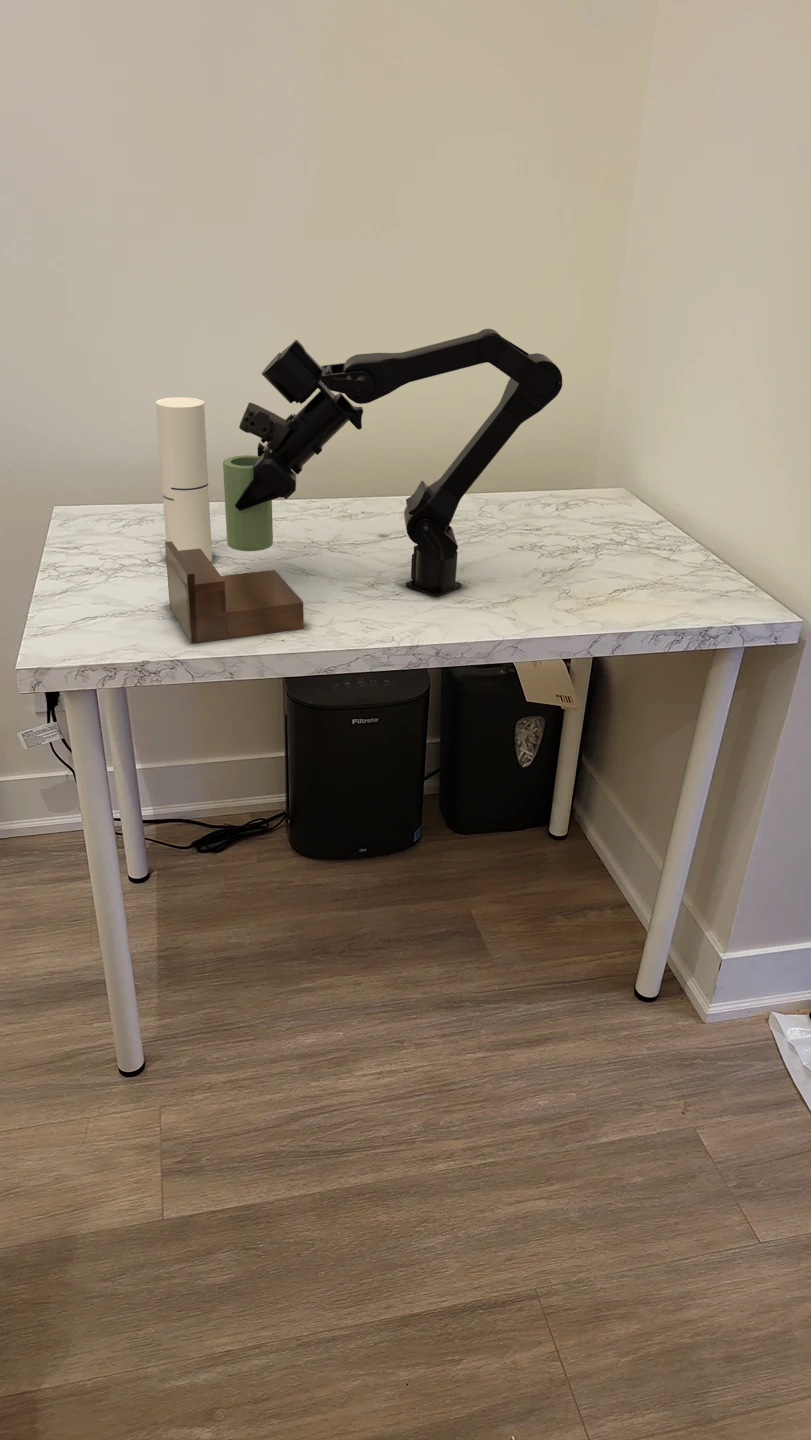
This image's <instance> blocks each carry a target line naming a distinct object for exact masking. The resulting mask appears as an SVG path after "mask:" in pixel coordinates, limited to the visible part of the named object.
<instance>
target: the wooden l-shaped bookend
mask: <svg viewBox="0 0 811 1440" xmlns="http://www.w3.org/2000/svg"><path fill="white" fill-rule="evenodd" d="M164 547H165V548H164V550H165V561H166V573H167V574H166V575H167V589H168V599H169V601H168V602H169V609H170V610H171V612H172V613H173V615H174V617H175V618H176V620H177V621H178V623H179V625H180V627H181V628H182V630H183V632H184V633H185V635H186V637H187V638H188V640H189V642H190V643H191V644H200V643H206V642H214V641H221V640H227V639H237V638H243V637H250V636H256V635H264V634H272V633H279V632H285V631H286V632H287V631H293V630H301V629H302V630H303V629H304V625H305V624H304V623H305V622H304V621H305V620H304V616H305V615H304V614H305V613H304V601H303V599H301V597H300V596H299V595H298V594H297V593H296V592H295V591H294V589H292V587H291V586H290V585H289V584H288V583H287V582H286V581H285V580H284V578H283V577H282V576H281V575H280V574H279V573H278V572H277V571H276V569H269V570H268V569H267V570H260V571H259V570H258V571H250V572H242V573H241V572H240V573H234V574H225V575H224V574H223V575H221V573H219V571H218V570H217V568H216V567H215V566H214V565H213V563H212V561H211V562H210V561H209V559H208V558H207V557H206V555H205V554H204V553H203V551H202V550H201V549H190V550H180V551H178V550H177V548H176V547H175V545H174V544H173V542H172V541H169V542H166V541H165V542H164Z"/></svg>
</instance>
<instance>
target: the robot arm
mask: <svg viewBox="0 0 811 1440" xmlns="http://www.w3.org/2000/svg"><path fill="white" fill-rule="evenodd" d="M485 363H489V364H490V365H492V366H493V367H495V368H496V369H498V370H499V371H500V372H502V373H503V374H505V375H506V376H507V377H509V379H508V381H507V383H506V386H505V389H504V391H503V393H502V396H501V398H500V401H499V402H498V404H497V406H496V407H495V408H494V409H493V411H492V412H491V413H490V415H489V416H488V417H487V419H486V420H484V422H483V423H482V425H481V426H480V427H479V428H478V429H477V431H476V432H475V434H474V435H473V436H472V437H471V439H470V440H469V441H468V442H467V444H466V445H465V446H464V448H463V449H462V450H461V451H460V453H459V454H458V455H457V456H456V458H455V459H454V460H453V461H452V462H451V464H450V465H449V466H448V468H447V469H446V470H445V472H444V473H443V474H442V475H441V477H440V478H438V480H436V481H434V482H433V483H431V484H429V485H427V483H426V482H425V481H424V480H420V482H419V484H418V486H417V487H416V490H415V491H414V492H413V494H411V496H409V497H408V498H406V499H405V503H406V506H405V508H404V511H403V518H404V524H405V528H406V534H407V536H408V538H409V540H410V541H411V542H412V543H414V544H416V545H413V553H412V554H411V563H410V565H411V567H410V579H411V580H408V581H407V582H405V587H408V588H410V589H412V590H416V591H418V592H421V593H423V594H427V595H429V596H432V597H436V598H437V597H440V596H443V595H445V594H447V593H450V592H452V591H454V590H457V589H460V588H462V585H463V584H462V582H459V581H457V568H458V567H457V566H458V549H459V546H458V542H457V539H456V536H455V532H454V530H453V527H452V526H451V525H450V524H451V522H453V521H452V520H453V518H454V516H455V514H456V511H457V509H458V506H459V503H460V501H461V499H462V498H463V497H464V495H465V494H467V492H468V491H469V489H470V488H471V487H472V486H473V485H474V483H475V482H476V481H477V479H478V478H479V477H480V476H481V475H482V473H483V472H484V470H486V468H487V467H488V466H489V465H490V463H491V462H492V461H493V460H494V458H496V456H497V454H499V452H500V451H501V450H502V448H503V447H504V446H505V444H507V442H508V441H509V440H510V438H511V437H512V436H513V434H514V433H515V432H516V431H517V429H519V427H520V426H521V425H522V424H523V423H524V422H526V421H527V420H529V419H531V418H532V417H534V416H535V415H537V414H538V413H539V412H541V411H542V410H544V408H546V407H547V406H548V405H549V404H550V403H551V402H552V401H553V400H554V399H556V397H558V395H559V394H560V392H561V390H562V388H563V375H562V372H561V369H560V368H559V367H558V366H557V364H556V363H554V362H553V361H552V359H550V358H549V357H548V356H547V355H545V354H542V353H538V352H536V353H529V352H527V351H526V350H524V349H522V348H521V347H519V346H518V345H516V344H514V343H513V342H511V341H509V340H508V339H507V338H505V337H504V336H502V335H501V334H500V333H499V332H498V331H497V330H496V329H493V328H483V329H481V330H480V331H478V332H475V333H471V334H468V335H467V334H466V335H463V336H461V337H456V338H453V339H449V340H445V341H441V342H437V343H434V344H429V345H425V346H422V347H418V348H414V349H411V350H407V351H403V352H369V353H359V354H355V355H352V356H350V357H349V358H348V359H346V361H345V362H342V363H341V362H340V363H333V364H324V365H321V364H319V363H318V362H317V361H316V360H315V359H314V358H313V357H312V356H311V355H310V353H308V352H307V349H305V347H304V346H303V344H302V343H301V342H300V341H299V340H298V339H295V340H294V341H293V342H291V344H290V345H288V346H287V347H286V348H285V349H283V350H282V351H281V352H278V353H277V354H276V355H275V356H274V357H273V358H272V360H271V361H270V362H269V363H268V364H267V365H266V367H265V368H264V369H263V371H262V372H261V376H262V377H263V378H264V379H266V381H268V383H269V384H270V385H271V386H272V387H273V388H274V389H275V390H276V391H277V392H278V393H279V394H280V395H281V396H282V397H283V398H284V399H285V400H286V401H287V402H288V403H289V404H292V403H296V404H300V405H302V404H304V403H305V402H307V400H308V399H309V398H310V397H311V396H313V394H314V393H316V391H317V390H319V391H318V392H317V393H316V394H315V395H314V396H313V397H312V398H311V399H310V400H309V401H308V402H307V403H306V404H305V405H304V406H303V407H302V408H301V409H300V411H298V412H297V413H293V414H292V413H290V414H289V415H288V416H287V417H286V418H283V417H282V416H279V415H278V414H276V413H274V412H273V411H270V410H268V409H267V408H264V407H262V406H260V405H258V404H256V403H253V402H248V404H247V407H246V409H245V410H244V413H243V415H242V418H241V420H240V424H239V426H238V428H239V430H241V431H243V432H244V433H247V434H249V433H250V434H251V435H254V436H256V437H258V438H259V439H260V442H258V444H257V456H260V457H259V459H258V460H257V461H256V462H254V465H253V476H254V478H253V479H252V481H251V482H250V484H249V485H248V486H247V488H246V489H245V491H244V492H243V494H242V495H241V497H240V498H239V499H238V501H237V502H236V504H235V507H236V508H237V509H238V510H239V511H241V510H244V509H247V508H250V507H252V506H255V505H258V504H261V503H264V502H267V501H270V500H272V501H273V500H276V499H282V498H283V499H285V500H288V499H289V498H290V497H291V496H292V495H293V494H294V493H295V492H296V489H297V475H299V474H300V473H302V471H303V466H304V465H306V464H307V462H309V461H310V459H312V458H313V457H314V455H316V456H318V455H319V454H320V453H321V452H322V451H323V447H324V446H325V445H326V444H327V443H328V442H329V441H330V440H331V439H332V438H333V437H334V436H335V435H336V434H337V433H338V432H339V431H340V430H341V429H342V428H343V427H344V426H345V425H346V424H347V423H348V422H350V423H351V424H352V426H354V427H355V428H356V430H361V429H362V428H363V425H362V420H363V419H362V417H363V414H364V407H362V406H355V405H353V404H352V403H351V401H352V402H353V403H355V404H359V405H364V404H369V403H370V404H371V403H372V402H375V401H376V400H379V399H381V398H383V397H385V396H387V395H389V394H391V393H392V392H394V391H396V390H397V389H399V388H401V387H403V386H406V385H407V384H409V383H412V382H416V381H420V380H424V379H427V378H431V377H436V376H439V375H443V374H447V373H450V372H455V371H458V370H462V369H467V368H470V367H474V366H478V365H482V364H485ZM333 392H335V393H337V394H335V393H333ZM344 395H345V396H344ZM348 399H349V400H350V401H349V400H348ZM263 444H264V445H263Z"/></svg>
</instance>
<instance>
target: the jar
mask: <svg viewBox="0 0 811 1440" xmlns="http://www.w3.org/2000/svg"><path fill="white" fill-rule="evenodd" d="M259 457H260V456H258V455H251V454H249V455H246V454H245V455H243V454H242V455H234V456H231V457H230V456H229V457H227V458H225V459H224V460H223V461H222V470H223V471H222V472H223V490H224V509H225V511H224V512H225V527H226V529H225V530H226V543H227V546H228V547H229V548H231V549H232V550H235V551H241V552H258V551H264V550H267V549H269V548H271V547H272V546H273V544H274V528H273V527H274V526H273V525H274V524H273V523H274V522H273V500H270V501H267V502H264V503H261V504H258V505H255V506H252V507H250V508H247V509H244V510H241V511H239V510H238V509H237V508H236V507H235V504H236V502H237V501H238V499H239V498H240V497H241V495H242V494H243V492H244V491H245V489H246V488H247V486H248V485H249V484H250V482H251V481H252V479H253V478H254V476H253V465H254V462H256V461H257V460H258V459H259Z"/></svg>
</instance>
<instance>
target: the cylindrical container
mask: <svg viewBox="0 0 811 1440" xmlns="http://www.w3.org/2000/svg"><path fill="white" fill-rule="evenodd" d="M155 409H156V424H157V438H158V453H159V464H160V477H161V478H160V479H161V491H162V503H163V505H162V506H163V517H164V518H163V519H164V531H165V542H169V541H172V542H173V544H174V545H175V547H176V548H177V550H178V551H180V550H190V549H201V550H202V551H203V553H204V554H205V555H206V557H207V558H208V559H209V561H210V562H211V563H212V561H213V545H212V530H211V529H212V527H211V509H210V506H211V505H210V487H209V470H208V453H207V450H208V449H207V434H206V433H207V432H206V412H205V411H206V410H205V402H204V400H203V399H200V398H195V397H190V396H189V397H187V396H186V397H185V396H183V397H182V396H174V397H173V396H172V397H171V396H170V397H164V398H160V399H158V400H156V401H155Z"/></svg>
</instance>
